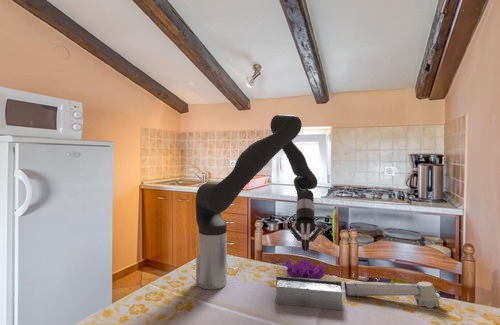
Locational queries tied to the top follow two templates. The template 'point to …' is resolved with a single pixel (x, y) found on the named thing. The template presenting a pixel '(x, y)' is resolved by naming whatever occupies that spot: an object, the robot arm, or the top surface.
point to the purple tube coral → (304, 270)
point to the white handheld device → (395, 291)
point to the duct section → (309, 292)
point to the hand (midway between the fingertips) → (305, 250)
